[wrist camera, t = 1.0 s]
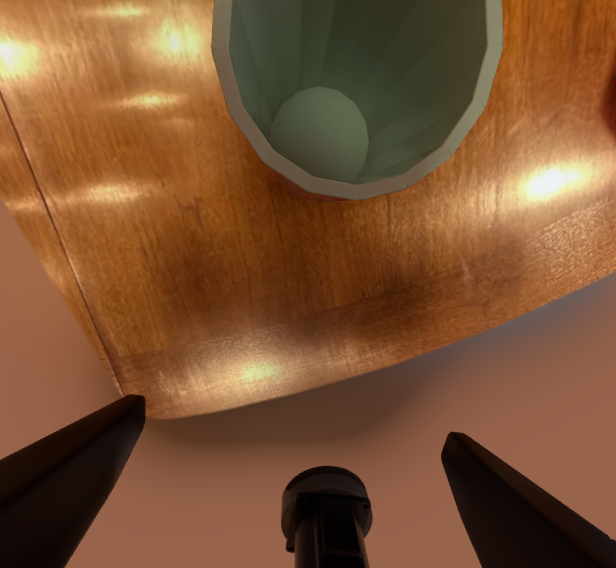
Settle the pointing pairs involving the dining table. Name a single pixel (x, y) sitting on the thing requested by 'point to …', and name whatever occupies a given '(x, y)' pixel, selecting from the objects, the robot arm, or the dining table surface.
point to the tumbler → (355, 86)
